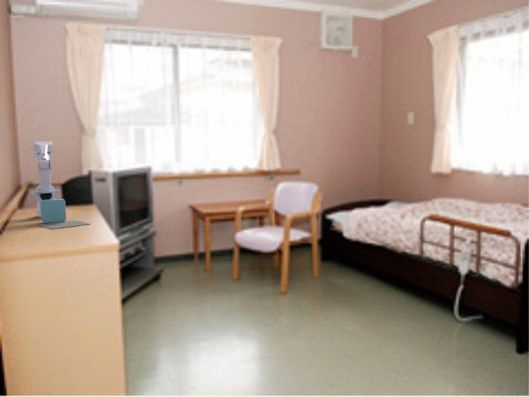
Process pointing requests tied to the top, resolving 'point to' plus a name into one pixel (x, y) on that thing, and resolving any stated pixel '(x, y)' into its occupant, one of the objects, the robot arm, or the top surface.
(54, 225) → the mat
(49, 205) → the blue square block
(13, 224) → the top surface
